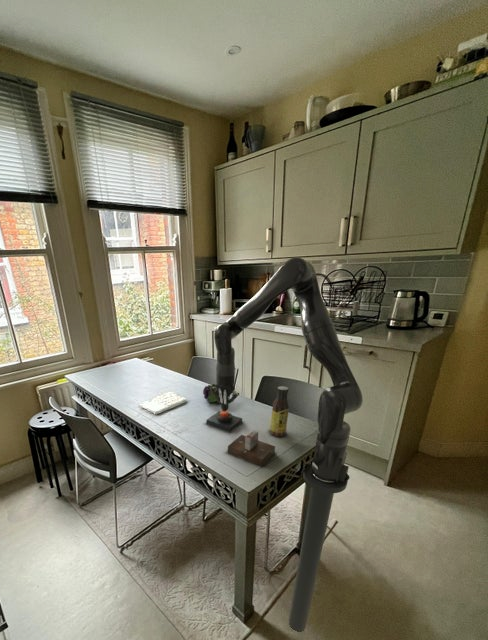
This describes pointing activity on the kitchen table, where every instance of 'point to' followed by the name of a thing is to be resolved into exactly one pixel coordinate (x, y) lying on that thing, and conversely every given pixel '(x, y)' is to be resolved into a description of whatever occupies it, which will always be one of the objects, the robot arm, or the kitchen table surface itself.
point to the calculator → (163, 403)
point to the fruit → (209, 393)
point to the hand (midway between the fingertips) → (224, 410)
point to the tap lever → (251, 440)
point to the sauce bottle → (279, 412)
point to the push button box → (224, 422)
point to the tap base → (251, 451)
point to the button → (224, 414)
